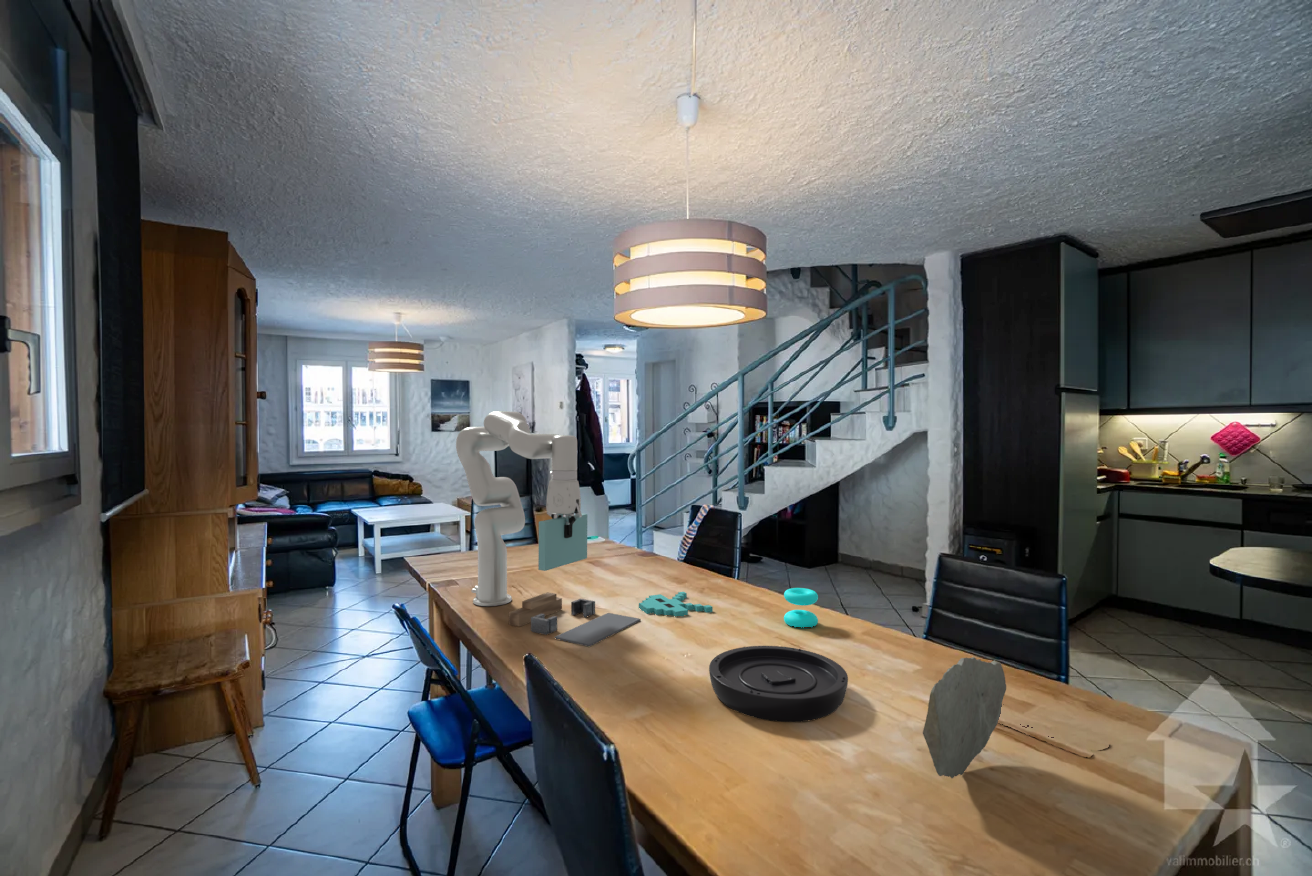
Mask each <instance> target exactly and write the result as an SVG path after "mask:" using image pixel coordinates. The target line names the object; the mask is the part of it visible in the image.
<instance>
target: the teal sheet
mask: <svg viewBox="0 0 1312 876" xmlns="http://www.w3.org/2000/svg"><path fill="white" fill-rule="evenodd" d="M581 514H582V517H580V518H578V519H577V520H576V521H575V522H574V524H573V525H572V537H570V538H564V525H566V519H565V516H563V517H560V518H555V519H552V518H550V519H546V520H540V521H538V563H537V564H538V567H537V568H538V571H544V572H546V571H549V570H553V569H556V568H560V567H562V566H566V565H570V564H573V563H576V562H579V561H583V560H586V559H588V513H582V512H581Z"/></svg>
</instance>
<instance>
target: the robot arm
mask: <svg viewBox="0 0 1312 876" xmlns="http://www.w3.org/2000/svg"><path fill="white" fill-rule="evenodd" d="M508 447H509V449H511V451H512V452H513V453H515V454H516V455H519V456H521V457H523V458H525V459H530V460H538V459H540V460H541V459H543V460H544V459H551V471H550V472H549V476H550V477H551V479H550V480H549V482H548V485H547V486H548V487H547V493H546V505H545V506H546V514H547V515H548V516H549V517H551V519H555V518H560V517H565V519H566V525H564V538H570V537H572V525H573V524H574V522H575V521H576V520H577V519H578V518H580V517H582V514H583V513H582V511H581V510H582V509H581V508H582V506H581V504H582V502H581V501H582V500H581V498H582V497H581V490H580V484H579V480H578V439H577V437H576V435H569V434H563V435H561V434H556V433H555V434H554V433H551V434H550V433H536V434H535V433H531V431H530V426H529V424H528V423H527V419H526V417H525V416H524V415H523V414H522V413H521V412H519V411H511V410H510V411H507V410H506V411H504V410H502V411H500V410H497V411H492V412H490V413H488V414H487V415H486V416H485V417H484V419H483V426H469V427H465V428H463V429H461V430H460V431H459V433H458V434H457V436H456V440H455V450H456V454H457V456H458V459H459V461H460V463H461V465H462V467H463V469H464V472H465V476H466V480H467V484H468V487H469V490H470V495H471V498H472V501H473V502H474V504H475V505H476V506H479V507H487V506H497V507H489V508H488V507H487V508H484V509H482V510H480V511H479V512H478V513H477V514H476V516H475V517H474V530H475V535H476V540H477V585H474V587H473V588H471V590H470V591H471V593H474V594H475V597H474V598H473V599H472V603H473V604H474V605H475V606H480V607H496V606H503V605H506V604H508V603H510V602H511V601H512V600H513V599H512V596H511V594H509V593H508V551H507V544H506V543H505V542H504V540H503V538H502V536H505V535H511V534H515V533H519V532H521V531H522V530H523V529H524V527H525V525H526V517H525V516H526V515H525V512H524V507H523V505H522V504H523V503H522V501H521V497H520V494H519V490H518V488H517V485H516V484H515V482H514V480H512V479H511V478H510V477H507V476H499V477H498V476H497V477H496V476H494V475H493V472H492V468H491V465H490V463H489V462H488V460H487V459H486V458H485V457H484V456H483V455H482V454H481V453H480V452H495V451H496V452H498V451H502V450H505V449H506V448H508ZM498 505H500V506H498ZM581 513H582V514H581Z"/></svg>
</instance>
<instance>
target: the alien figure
mask: <svg viewBox="0 0 1312 876" xmlns="http://www.w3.org/2000/svg"><path fill="white" fill-rule="evenodd" d="M687 597H688V595H687V592H686V591H678V592H677V594H675V595H674V596H672V597H671V598H668V597H667V596H664V595H663V594H653V595H648V597H645V599H644V600H641V602H638V609H639V608H640V609H641V610H640V609H639V610H640V611H642V612H643V611H644V612H643V613H645V614H647V615H650V613H651V614H654V615H655V614H656V616H660V615H664V616H665V615H671V616H673V615H674V616H675V617H674V616H673V617H674V618H677V617H676V616H681V617H685V616H684V615H688V616H689V611H688V610H690V611H695V612H704V613H707V614H708V613H713V610H714V609H713V608H714V606H712V605H710V604H707V605H705V604H704V605H702V604H701V603H697V604H693V603H691V602H687V603H684V602H682V601H685V599H687Z"/></svg>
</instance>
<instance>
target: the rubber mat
mask: <svg viewBox="0 0 1312 876" xmlns="http://www.w3.org/2000/svg"><path fill="white" fill-rule="evenodd" d="M639 622H641V618H639V617H638V618H637V617H632V616H626V615H622V614H617V613H611V612H606V613H605V614H602V615H600V616H598V617H595V618H593V619H591V620H589V621H586V622H585V623H583V624H579V625H578V626H576V627H573V628H570V629H568V630H567V631H566V630H565V631H564V632H562V633H560V634H557V635H556V636H554V639H555V638H556V639H555V640H557V639H560V640H559V641H562V640H563V642H566V641H568V642H567V643H572V644H575V645H580V646H584V647H588V646H590V647H592V646H594V645H595V644H598V643H599V641H600V642H601V640H602V641H603V639H604V640H605V638H606V637H608V636H610V637H611V636H614V635H615V634H617V633H619V632H621V631H623V630H625V629H627V628H629V627H631V626H634V625H635V624H636V623H639ZM628 626H629V627H628ZM626 627H627V628H626ZM624 628H625V629H624ZM622 629H623V630H622ZM620 630H621V631H620ZM608 638H609V637H608ZM606 639H607V638H606Z"/></svg>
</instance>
